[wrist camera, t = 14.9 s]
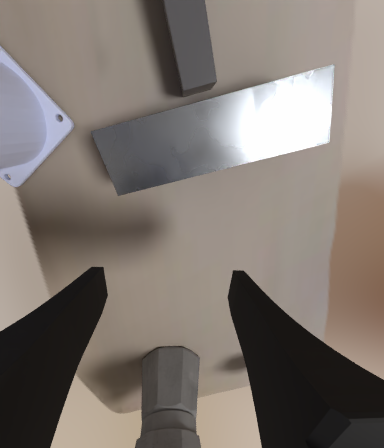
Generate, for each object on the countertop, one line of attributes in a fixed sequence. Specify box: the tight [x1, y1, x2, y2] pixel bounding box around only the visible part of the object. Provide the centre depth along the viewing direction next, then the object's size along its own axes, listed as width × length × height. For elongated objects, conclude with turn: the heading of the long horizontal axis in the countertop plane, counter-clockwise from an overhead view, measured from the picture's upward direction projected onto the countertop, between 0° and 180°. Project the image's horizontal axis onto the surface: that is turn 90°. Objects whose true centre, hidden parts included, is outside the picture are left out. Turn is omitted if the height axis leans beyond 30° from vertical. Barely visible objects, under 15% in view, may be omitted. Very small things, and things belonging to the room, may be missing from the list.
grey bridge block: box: [91, 64, 335, 196], centre depth 14 cm, size 4×14×5 cm, turn 104°
